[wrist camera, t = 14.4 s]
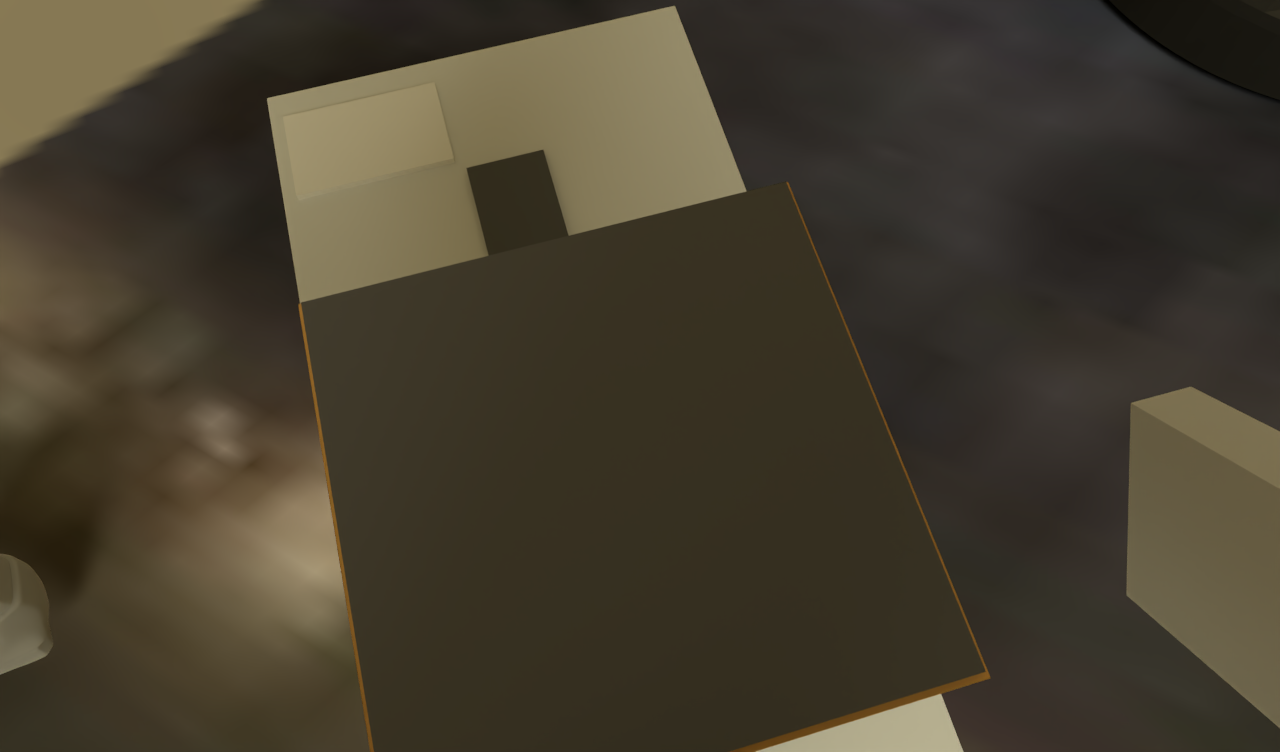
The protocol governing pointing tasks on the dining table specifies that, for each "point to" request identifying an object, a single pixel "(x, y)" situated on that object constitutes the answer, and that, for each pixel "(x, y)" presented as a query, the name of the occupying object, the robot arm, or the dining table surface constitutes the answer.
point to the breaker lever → (624, 497)
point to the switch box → (520, 188)
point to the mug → (22, 615)
